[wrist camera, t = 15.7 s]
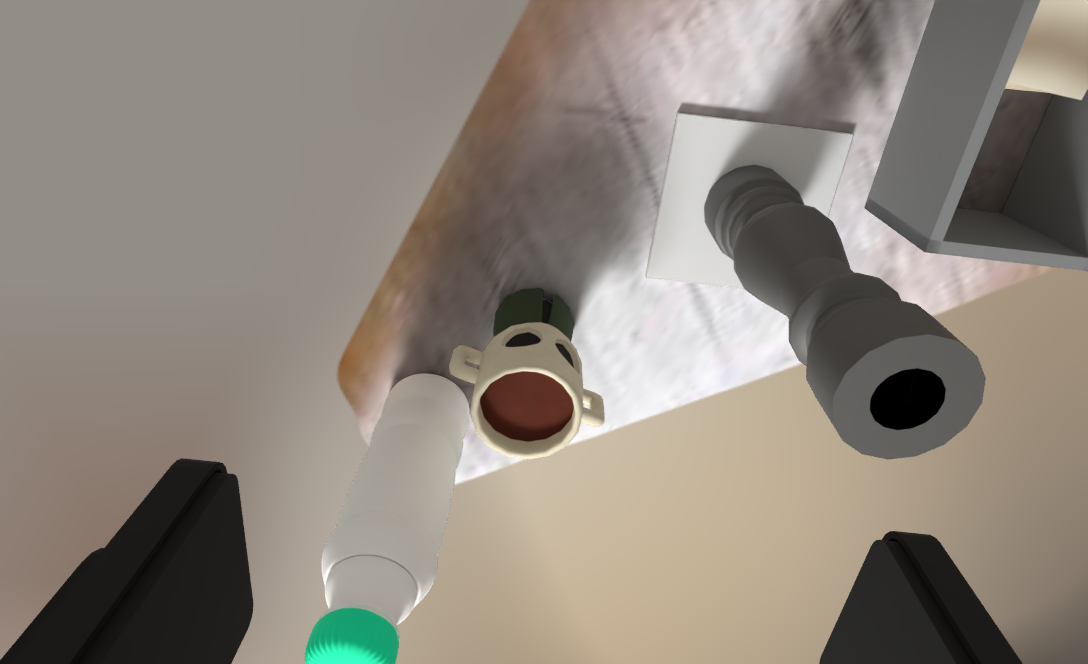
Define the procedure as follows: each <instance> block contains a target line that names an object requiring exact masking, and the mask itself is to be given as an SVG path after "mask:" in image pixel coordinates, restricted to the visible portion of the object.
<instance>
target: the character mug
mask: <svg viewBox="0 0 1088 664" xmlns="http://www.w3.org/2000/svg"><path fill="white" fill-rule="evenodd" d="M573 327H574V322H573V318H572V315H571V312H570V308H569V307H568V306H567V305H566V303H565V302H564V301H563V300H562V299H561V298H560V297H559V296H558V295H555V294H554V298H553V304H552V303H551V302H549V301H548V300H543V290H542V289H540V288H536V289H522V290H520V291H518V292H516V293H514V294H512V295H510V296H508V297H506V299H505V300H504V301H503V303H502V304H501V306H500V307H499V309H498V310H497V312H496V315H495V322H494V337H493V338H492V340H491V341H490V342H489V344H488V345H487V347H486V348H485V349H484V351H483V352H481V351H479V350H476V349H473V348H470V347H468V346H464V345H459V346H458V347H457V348H455V349H454V350H453V354H452V357H451V360H450V364H449V370H450V374H451V375H453V376H454V377H456V378H459V379H462V380H465V381H467V382H470V383H473V384H475V387H474V391H473V397H472V403H471V409H470V414H471V418H472V421H473V424H474V427H475V431H476V432H477V433H478V435H479V436H480V437H481V438H482V439H483V440H484V442H485V443H486V444H487V445H488V446H489V447H491V448H493V449H494V450H496V451H498V452H500V453H502V454H504V455H505V456H509V457H515V458H522V459H533V458H540V457H546V456H549V455H551V454H553V453H555V452H557V451H559V450H561V449H563V448H565V447H566V446H567V445H568V444H569V443H570V441H571V440H572V439H573V438H574V437H575V435H576V434H577V433H578V431H579V427H580V423H581V422H583V423H586V424H588V425H591V426H596V427H599V426H601V425H603V423H604V406H603V399H602V397H601V396H600V395H598V394H596V393H594V392H591V391H589V390H586V389H583V379H582V363H581V360H580V357H579V355H578V352H577V350H576V348H575V347H574V346H573V344H572V343H571V339H572V334H573ZM466 361H467V362H470V363H473V364H476V365H478V366H479V368H478V369H476V368H473V367H470V366H468V365H465V362H466ZM583 403H584V404H587V405H589V407H590V409H587V408H584V407H583Z"/></svg>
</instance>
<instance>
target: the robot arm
mask: <svg viewBox="0 0 1088 664" xmlns="http://www.w3.org/2000/svg"><path fill="white" fill-rule="evenodd" d="M252 613H253V598H252V589H251V582H250V573H249V565H248V557H247V549H246V541H245V533H244V525H243V517H242V509H241V501H240V493H239V486H238V480H237V477H236V475H234V474H227V470H226V467H225V466H224V464H223V463H220V462H211V461H202V460H192V459H179V460H177V461H176V462H175V463H174V464H173V465H172V466H171V467H170V468H169V469H168V471H167V472H166V473H165V474H164V476H163V477H162V478H161V479H160V480H159V482H158V483H157V484H156V485H155V487H154V488H153V489H152V490H151V492H150V493H149V494H148V495H147V497H146V498H145V499H144V500H143V501H142V503H141V504H140V505H139V506H138V507H137V509H136V510H135V511H134V512H133V514H132V515H131V516H130V517H129V519H128V520H127V521H126V522H125V524H124V525H123V526H122V527H121V528H120V530H119V531H118V532H117V533H116V535H115V536H114V537H113V538H112V539H111V541H110V542H109V543H108V545H107V546H106V547H105V548H101V549H98V550H96V551H94V552H92V553H91V554H90V555H89V556H88V557H87V558H86V559H85V560H84V561H83V562H82V563H81V564H80V565H79V566H78V567H77V569H76V570H75V571H74V572H73V573H72V575H71V576H70V577H69V578H68V579H67V581H66V582H65V583H64V584H63V586H62V587H61V588H60V589H59V590H58V592H57V593H56V594H55V595H54V596H53V597H52V599H51V600H50V601H49V602H48V603H47V605H46V606H45V607H44V608H43V609H42V611H41V612H40V613H39V614H38V615H37V617H36V618H35V619H34V620H33V622H32V623H31V624H30V625H29V626H28V628H27V629H26V630H25V631H24V632H23V634H22V635H21V636H20V637H19V639H17V641H16V642H15V643H14V644H13V645H12V647H11V648H10V649H9V650H8V652H7V653H6V654H5V655H4V656H3V658H2V659H1V660H0V664H231V663H232V661H233V659H234V657H235V655H236V652H237V650H238V648H239V646H240V644H241V642H242V640H243V638H244V636H245V634H246V632H247V630H248V627H249V624H250V621H251V618H252ZM820 664H1022V662H1021V661H1020V659H1019V658H1018V656H1017V655H1016V653H1015V652H1014V650H1013V649H1012V647H1011V646H1010V645H1009V643H1008V642H1007V640H1006V639H1005V637H1004V636H1003V634H1002V633H1001V631H1000V630H999V628H998V627H997V625H996V624H995V623H994V621H993V620H992V618H991V617H990V615H989V614H988V612H987V611H986V610H985V608H984V606H983V605H982V604H981V602H980V600H979V599H978V598H977V596H976V595H975V593H974V592H973V590H972V589H971V587H970V586H969V584H968V583H967V581H966V580H965V579H964V577H963V576H962V574H961V573H960V571H959V570H958V568H957V567H956V565H955V564H954V562H953V561H952V559H951V558H950V556H949V555H948V554H947V552H946V551H945V549H944V548H943V546H942V545H941V543H940V542H939V541H938V540H937V539H936V538H935V537H933V536H931V535H925V534H916V533H907V532H897V531H890V532H888V533H887V534H885V536H884V537H883V539H882V540H876V541H875V542H874V543H873V544H872V546H871V548H870V550H869V552H868V554H867V556H866V559H865V561H864V563H863V565H862V567H861V570H860V572H859V574H858V576H857V579H856V581H855V583H854V585H853V587H852V589H851V592H850V594H849V596H848V599H847V600H846V603H845V605H844V607H843V609H842V612H841V614H840V616H839V618H838V620H837V622H836V625H835V627H834V629H833V631H832V633H831V636H830V638H829V640H828V642H827V645H826V647H825V649H824V651H823V653H822V655H821V659H820Z"/></svg>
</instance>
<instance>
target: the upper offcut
mask: <svg viewBox="0 0 1088 664" xmlns="http://www.w3.org/2000/svg"><path fill="white" fill-rule="evenodd" d="M1007 83H1010V84H1015V85H1019V86H1023V87H1027V88H1031V89H1035V90H1039V91H1043V92H1047V93H1052V94H1056V95H1060V96H1065V97H1069V98H1074V99H1078V100H1082V98H1083V97H1084V95H1085V93H1086V91H1087V90H1088V0H1040V3H1039V5H1038V8H1037V10H1036V13H1035V15H1034V18H1033V20H1032V22H1031V25H1030V27H1029V30H1028V32H1027V35H1026V37H1025V40H1024V42H1023V45H1022V47H1021V50H1020V52H1019V54H1018V57H1017V59H1016V62H1015V64H1014V67H1013V69H1012V72H1011V74H1010V77H1009V79H1008V82H1007Z"/></svg>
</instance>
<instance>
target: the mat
mask: <svg viewBox="0 0 1088 664" xmlns="http://www.w3.org/2000/svg"><path fill="white" fill-rule="evenodd" d="M852 138H853V134H851V133H845V132H836V131H828V130H820V129H812V128H803V127H795V126H787V125H778V124H770V123H762V122H754V121H745V120H737V119H729V118H720V117H712V116H704V115H696V114H687V113H679V112H677V116H676V121H675V126H674V131H673V136H672V141H671V146H670V151H669V157H668V162H667V167H666V172H665V177H664V182H663V187H662V192H661V197H660V203H659V208H658V213H657V218H656V223H655V228H654V233H653V238H652V243H651V249H650V254H649V259H648V264H647V269H646V274H645V275H646V278H652V279H661V280H669V281H678V282H687V283H696V284H705V285H714V286H723V287H731V288H740V289H744V287H743V286H742V284H741V282H740V280H739V278H738V276H737V274H736V273H735V271H734V261H733V260H732V259H730V258H729V257H728V256H726V255H725V254H724V253H722V252H721V250H720V249H719V247H718V245H717V244H716V242H715V240H714V239H713V237H712V235H711V233H710V231H709V229H708V228H707V226H706V224H705V218H704V205H705V202H706V199H707V196H708V193H709V190H710V189H711V188H712V187H713V186H714V184H715V183H716V182H717V181H718V180H719V178H720V177H721V176H723V175H725V174H726V173H728V172H730V171H732V170H733V169H735V168H737V167H743V166H749V165H759V166H763V167H767V168H771V169H772V170H774V171H775V172H776V173H777V174H779V175H780V176H781V177H782V178H784V179H785V180H786V181H787V182H788V183H789V184H791V185H792V186H793V187H794V188H795V189H796V190H797V191H798V192H799V194H800V196H801V198H802V200H803V202H804V205H807V206H811V207H815V208H816V209H817V210H819V211H820V212H821V213H822V214H824V215H825V216H826V217H828V213H829V210H830V207H831V204H832V201H833V198H834V195H835V191H836V188H837V185H838V182H839V179H840V176H841V172H842V169H843V166H844V163H845V160H846V157H847V154H848V150H849V147H850V144H851V141H852Z"/></svg>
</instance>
